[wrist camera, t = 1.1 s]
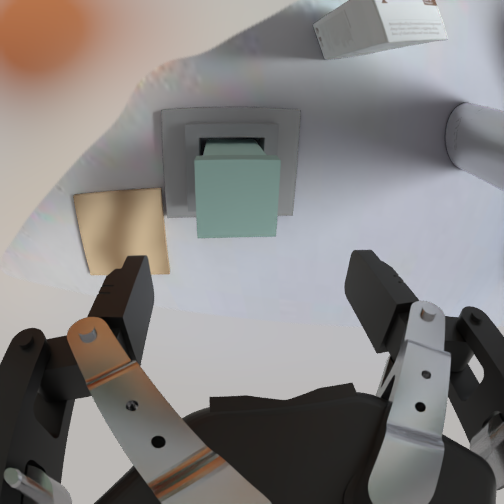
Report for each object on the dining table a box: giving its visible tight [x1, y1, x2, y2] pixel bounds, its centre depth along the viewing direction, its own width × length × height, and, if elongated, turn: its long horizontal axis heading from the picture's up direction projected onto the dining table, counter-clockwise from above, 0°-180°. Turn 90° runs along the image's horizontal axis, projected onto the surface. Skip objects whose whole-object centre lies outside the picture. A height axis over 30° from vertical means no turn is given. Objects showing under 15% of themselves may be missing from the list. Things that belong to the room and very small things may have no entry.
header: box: [161, 107, 301, 218], centre depth 27 cm, size 13×11×3 cm
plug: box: [194, 139, 281, 238], centre depth 24 cm, size 5×5×12 cm
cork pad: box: [73, 188, 170, 275], centre depth 31 cm, size 10×10×1 cm
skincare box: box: [313, 0, 448, 60], centre depth 18 cm, size 6×4×12 cm
